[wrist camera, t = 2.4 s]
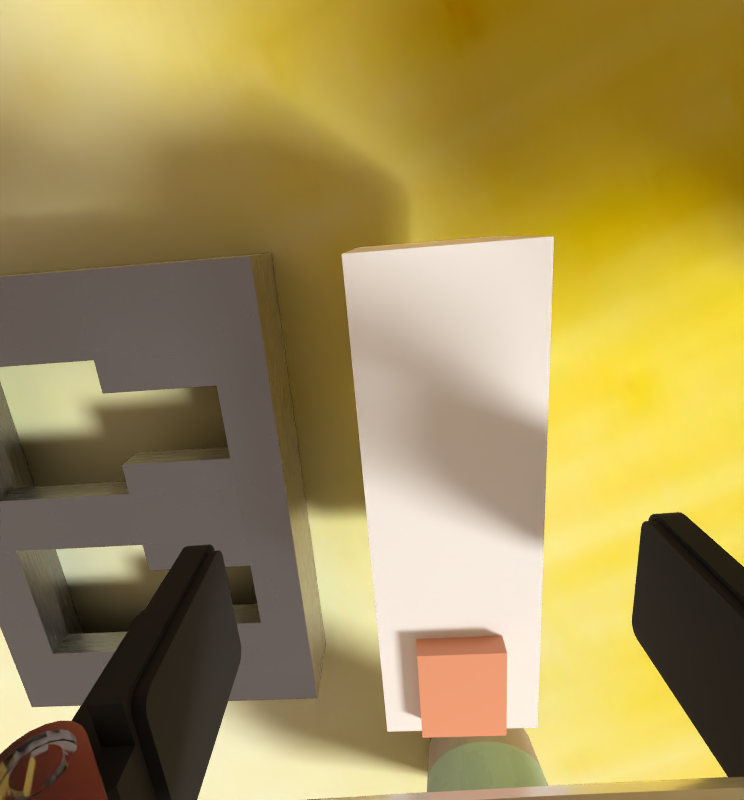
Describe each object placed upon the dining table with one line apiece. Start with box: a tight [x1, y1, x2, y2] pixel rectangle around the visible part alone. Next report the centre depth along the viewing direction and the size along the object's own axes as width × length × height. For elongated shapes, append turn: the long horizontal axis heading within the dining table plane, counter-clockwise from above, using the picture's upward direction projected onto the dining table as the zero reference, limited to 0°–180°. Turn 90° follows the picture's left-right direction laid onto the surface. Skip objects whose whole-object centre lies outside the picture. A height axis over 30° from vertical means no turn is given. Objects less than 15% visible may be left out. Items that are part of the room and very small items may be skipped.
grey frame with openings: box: [0, 253, 326, 707], centre depth 22 cm, size 14×20×3 cm
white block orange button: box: [342, 236, 554, 738], centre depth 17 cm, size 4×14×10 cm, turn 5°
